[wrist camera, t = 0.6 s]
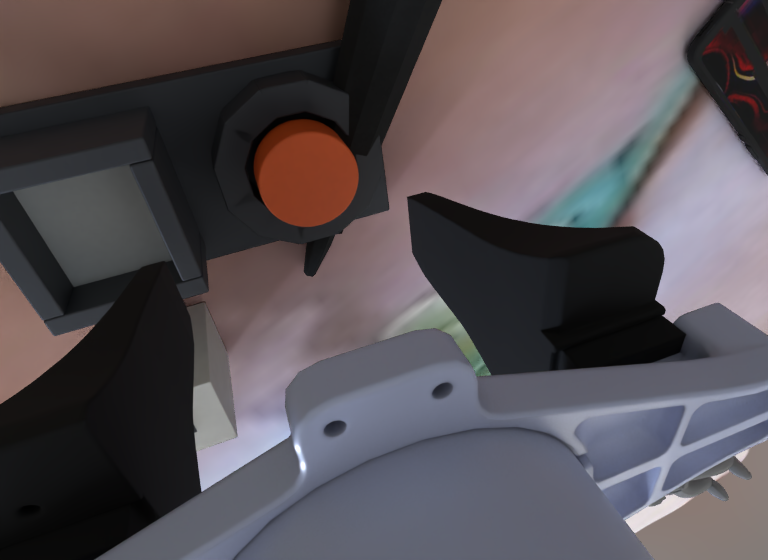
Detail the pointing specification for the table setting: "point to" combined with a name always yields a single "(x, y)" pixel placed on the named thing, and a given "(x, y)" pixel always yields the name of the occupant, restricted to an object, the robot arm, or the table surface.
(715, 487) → the alien figure
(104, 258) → the socket
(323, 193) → the power button
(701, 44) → the smartphone
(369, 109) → the microphone
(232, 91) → the adapter
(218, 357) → the block
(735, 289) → the table surface
